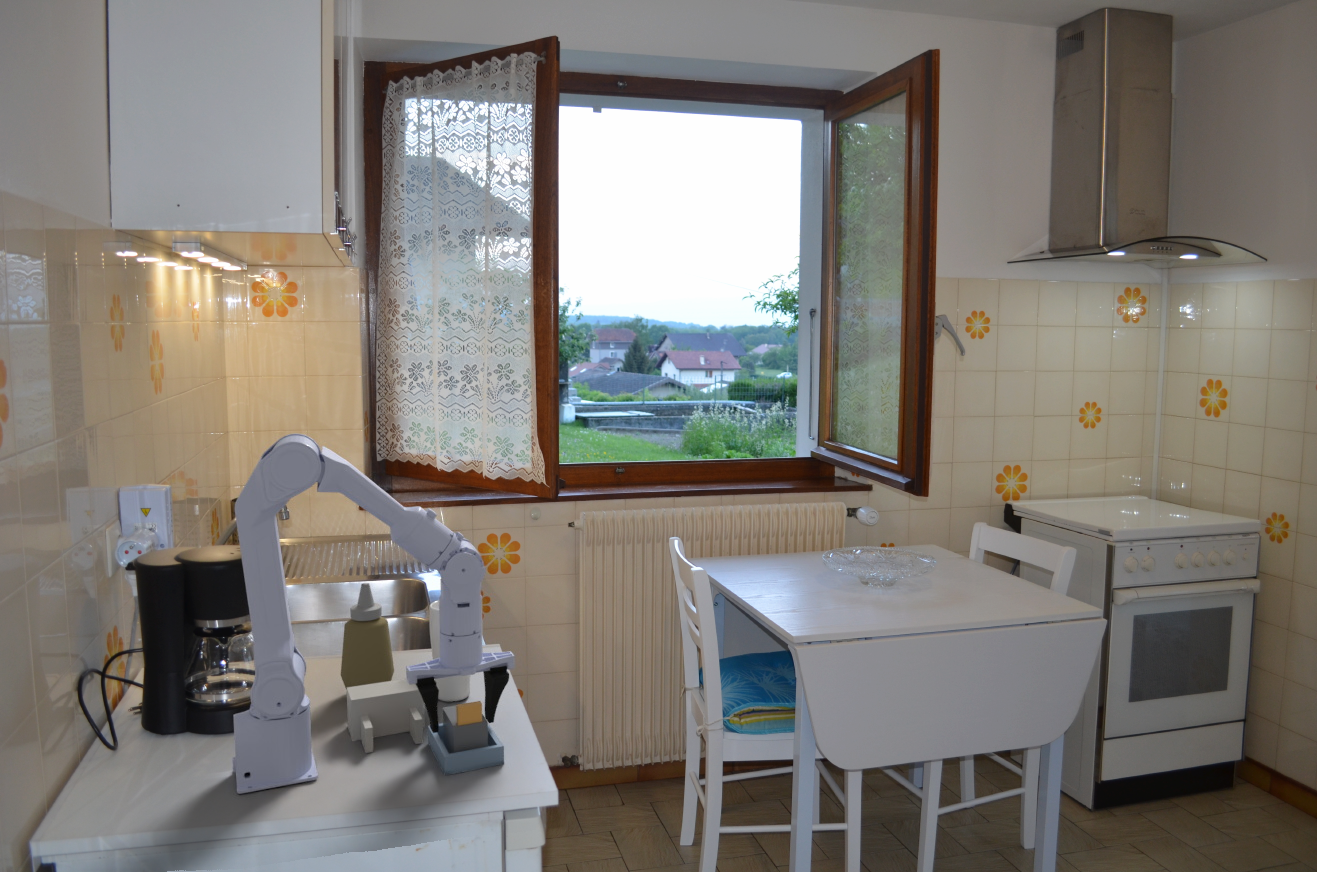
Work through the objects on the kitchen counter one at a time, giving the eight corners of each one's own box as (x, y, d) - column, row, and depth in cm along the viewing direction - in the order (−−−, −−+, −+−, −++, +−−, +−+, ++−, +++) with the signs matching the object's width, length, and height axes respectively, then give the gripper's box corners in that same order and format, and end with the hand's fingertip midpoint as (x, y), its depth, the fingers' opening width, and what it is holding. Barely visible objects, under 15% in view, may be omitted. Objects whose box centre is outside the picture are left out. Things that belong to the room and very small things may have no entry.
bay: (357, 754, 127) (355, 712, 126) (347, 727, 135) (346, 687, 134) (430, 741, 131) (430, 700, 130) (417, 715, 139) (416, 676, 139)
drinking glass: (464, 706, 143) (463, 612, 141) (423, 702, 144) (421, 608, 142) (481, 690, 149) (480, 599, 147) (441, 686, 151) (440, 596, 149)
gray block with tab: (443, 741, 130) (442, 690, 129) (475, 736, 131) (474, 685, 131) (454, 763, 123) (453, 709, 122) (487, 757, 125) (487, 703, 124)
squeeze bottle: (365, 709, 141) (362, 594, 139) (330, 697, 145) (326, 585, 143) (405, 691, 148) (403, 582, 146) (370, 681, 152) (368, 574, 150)
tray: (445, 775, 121) (444, 757, 121) (428, 742, 130) (427, 725, 130) (504, 763, 124) (503, 745, 124) (483, 732, 134) (483, 716, 133)
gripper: (412, 646, 120) (414, 746, 122) (521, 631, 126) (521, 726, 128) (402, 629, 126) (404, 725, 128) (506, 616, 133) (506, 707, 134)
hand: (462, 724), depth 128 cm, fingers open, 7 cm apart
